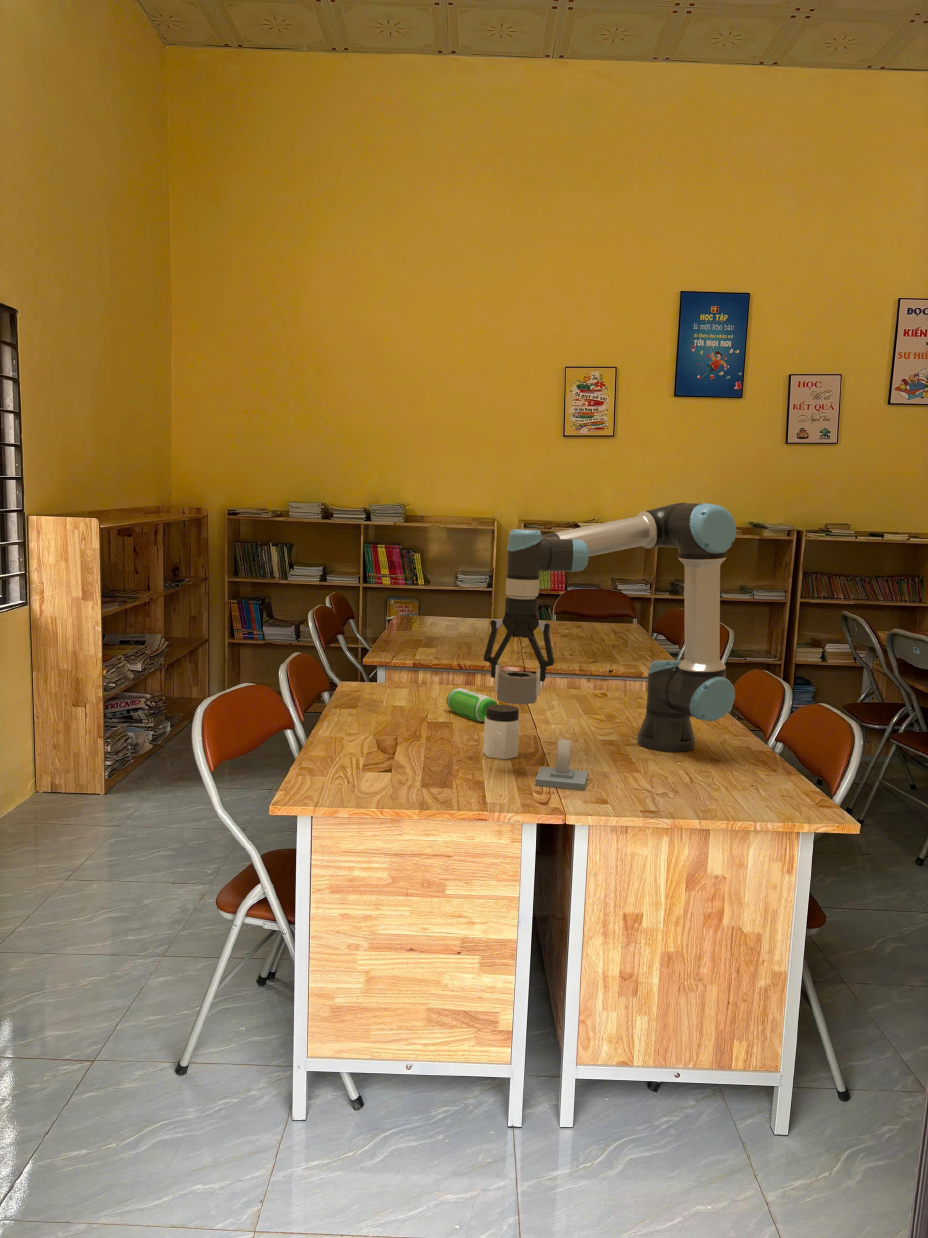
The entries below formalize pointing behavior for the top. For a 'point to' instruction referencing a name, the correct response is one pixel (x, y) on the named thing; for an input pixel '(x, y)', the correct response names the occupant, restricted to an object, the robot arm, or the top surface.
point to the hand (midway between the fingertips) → (517, 693)
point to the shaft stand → (562, 771)
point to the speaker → (469, 703)
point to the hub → (517, 687)
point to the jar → (501, 732)
